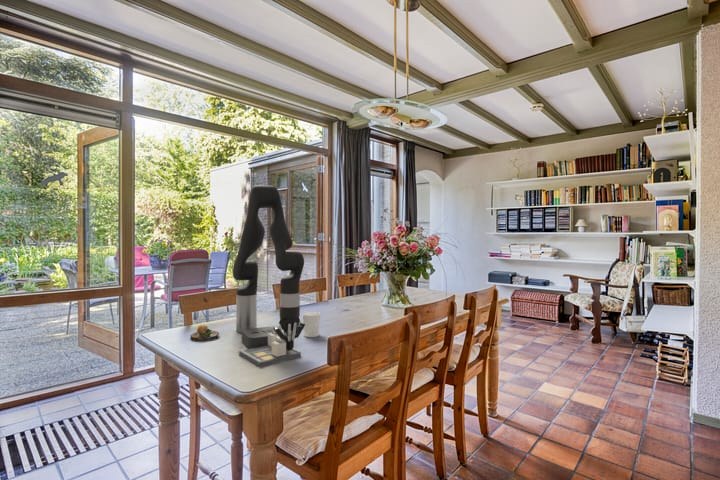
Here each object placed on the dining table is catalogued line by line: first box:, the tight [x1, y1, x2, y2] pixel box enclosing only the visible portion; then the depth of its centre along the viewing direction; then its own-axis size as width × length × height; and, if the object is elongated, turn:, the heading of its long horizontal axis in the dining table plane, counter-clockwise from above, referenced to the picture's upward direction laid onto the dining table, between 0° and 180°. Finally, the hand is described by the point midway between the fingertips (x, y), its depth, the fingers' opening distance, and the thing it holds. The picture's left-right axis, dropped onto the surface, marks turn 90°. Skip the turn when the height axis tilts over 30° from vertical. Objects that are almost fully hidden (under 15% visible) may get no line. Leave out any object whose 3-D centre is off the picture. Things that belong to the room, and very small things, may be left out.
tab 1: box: [268, 332, 278, 347], centre depth 150 cm, size 4×4×5 cm
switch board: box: [238, 345, 302, 368], centre depth 143 cm, size 16×17×2 cm
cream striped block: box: [272, 340, 286, 357], centre depth 139 cm, size 4×4×5 cm
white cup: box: [302, 311, 321, 338], centre depth 171 cm, size 8×8×10 cm
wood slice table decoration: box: [190, 324, 220, 342], centre depth 165 cm, size 12×12×8 cm
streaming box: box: [241, 326, 284, 349], centre depth 158 cm, size 14×14×5 cm
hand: (289, 349), depth 142 cm, fingers closed
